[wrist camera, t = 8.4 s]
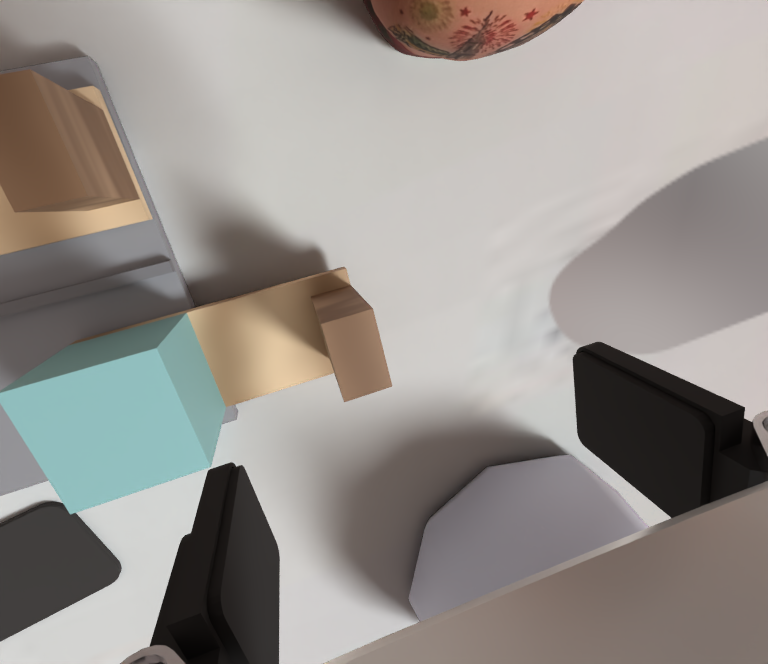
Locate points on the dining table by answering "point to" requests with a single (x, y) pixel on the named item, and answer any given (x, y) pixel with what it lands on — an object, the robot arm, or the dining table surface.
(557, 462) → the light grey vase
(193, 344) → the cube
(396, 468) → the dining table surface
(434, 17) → the decorative planter
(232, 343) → the strip cube lane
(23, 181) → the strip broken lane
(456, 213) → the dining table surface
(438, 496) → the dining table surface
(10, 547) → the phone
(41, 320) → the lane board
